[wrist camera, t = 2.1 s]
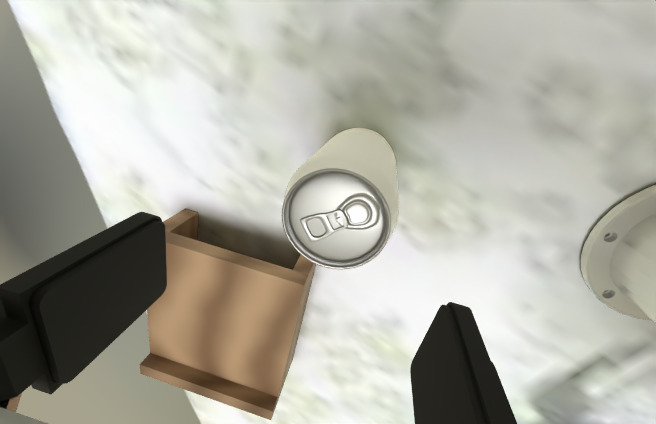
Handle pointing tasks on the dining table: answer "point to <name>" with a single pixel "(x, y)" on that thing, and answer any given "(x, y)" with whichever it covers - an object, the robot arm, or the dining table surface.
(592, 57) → the dining table surface
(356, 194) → the can
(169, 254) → the shelf
